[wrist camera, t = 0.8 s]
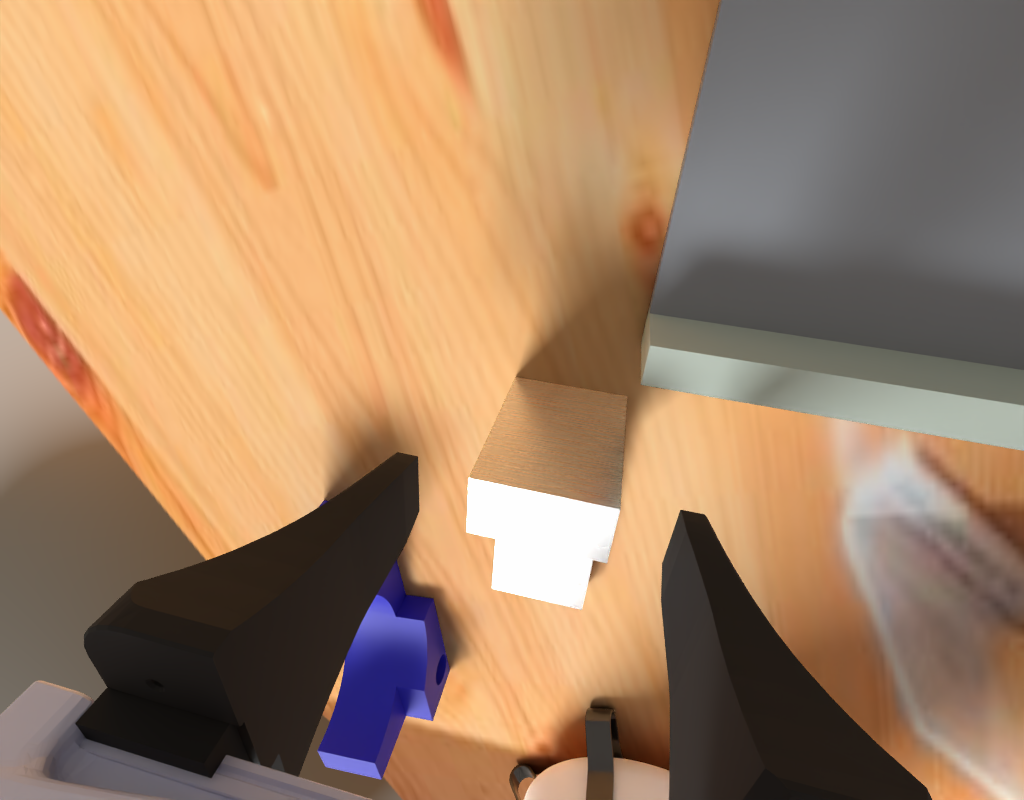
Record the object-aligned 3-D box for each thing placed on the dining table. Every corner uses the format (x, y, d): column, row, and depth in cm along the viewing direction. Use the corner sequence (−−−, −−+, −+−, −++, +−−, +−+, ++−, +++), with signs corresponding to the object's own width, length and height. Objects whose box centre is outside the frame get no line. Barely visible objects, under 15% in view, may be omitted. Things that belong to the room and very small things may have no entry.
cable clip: (450, 666, 29) (410, 786, 24) (378, 654, 30) (325, 766, 25) (414, 506, 23) (350, 619, 18) (325, 498, 24) (242, 603, 19)
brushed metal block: (516, 374, 19) (468, 478, 14) (627, 393, 18) (620, 509, 13) (499, 562, 24) (461, 687, 19) (585, 581, 23) (568, 716, 18)
